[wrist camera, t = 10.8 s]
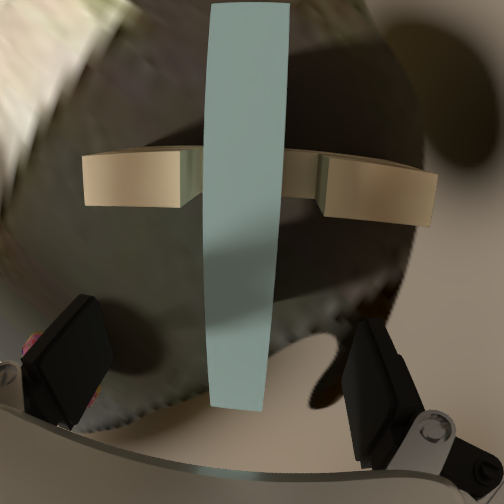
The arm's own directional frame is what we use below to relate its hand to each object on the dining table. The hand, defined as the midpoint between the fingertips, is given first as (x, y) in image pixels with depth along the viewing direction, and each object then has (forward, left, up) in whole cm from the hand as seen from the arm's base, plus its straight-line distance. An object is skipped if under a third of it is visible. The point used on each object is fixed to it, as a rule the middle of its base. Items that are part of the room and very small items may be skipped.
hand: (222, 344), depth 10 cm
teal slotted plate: (-3, 0, -11) cm, 12 cm away
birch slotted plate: (-5, 0, -11) cm, 12 cm away
